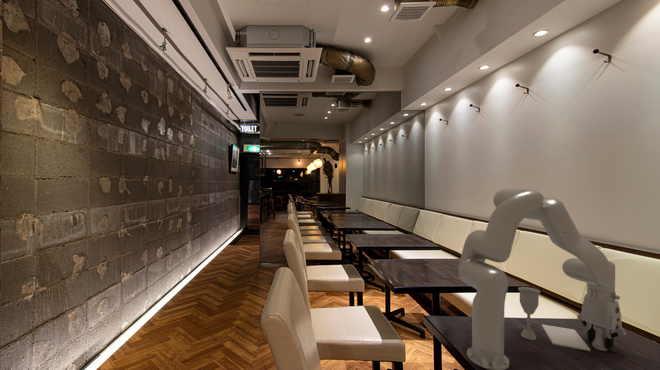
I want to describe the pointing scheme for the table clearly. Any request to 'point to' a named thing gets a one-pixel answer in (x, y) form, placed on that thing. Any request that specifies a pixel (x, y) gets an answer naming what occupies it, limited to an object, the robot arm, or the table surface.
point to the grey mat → (565, 337)
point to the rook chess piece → (599, 339)
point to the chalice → (529, 308)
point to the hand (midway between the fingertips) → (600, 344)
